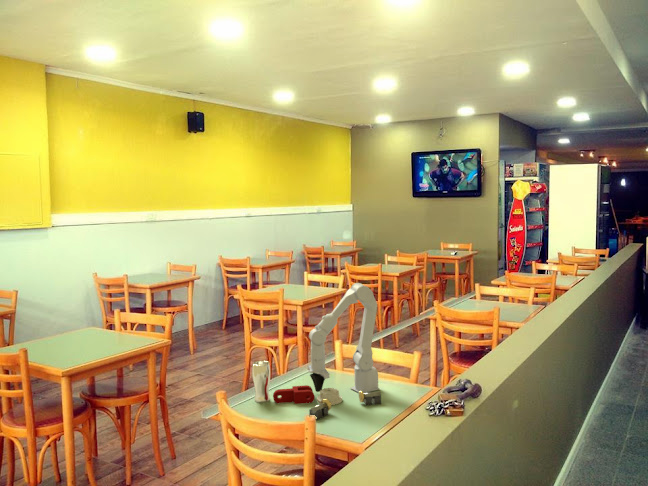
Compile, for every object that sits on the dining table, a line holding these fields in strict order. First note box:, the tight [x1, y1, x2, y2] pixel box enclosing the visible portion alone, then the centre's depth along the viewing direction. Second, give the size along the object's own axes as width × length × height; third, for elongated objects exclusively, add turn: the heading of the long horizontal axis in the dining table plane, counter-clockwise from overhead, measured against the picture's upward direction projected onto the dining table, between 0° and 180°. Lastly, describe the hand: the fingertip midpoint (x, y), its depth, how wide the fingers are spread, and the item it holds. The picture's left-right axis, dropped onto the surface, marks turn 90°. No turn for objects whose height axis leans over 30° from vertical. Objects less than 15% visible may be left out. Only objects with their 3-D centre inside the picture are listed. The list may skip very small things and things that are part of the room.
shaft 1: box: [308, 399, 332, 421], centre depth 215 cm, size 8×4×5 cm, turn 141°
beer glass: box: [252, 360, 271, 403], centre depth 233 cm, size 7×7×15 cm
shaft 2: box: [358, 391, 382, 406], centre depth 227 cm, size 8×4×5 cm, turn 101°
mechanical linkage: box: [272, 384, 315, 405], centre depth 231 cm, size 16×7×5 cm, turn 98°
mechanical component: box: [316, 387, 343, 406], centre depth 231 cm, size 10×4×10 cm
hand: (318, 391), depth 239 cm, fingers closed
